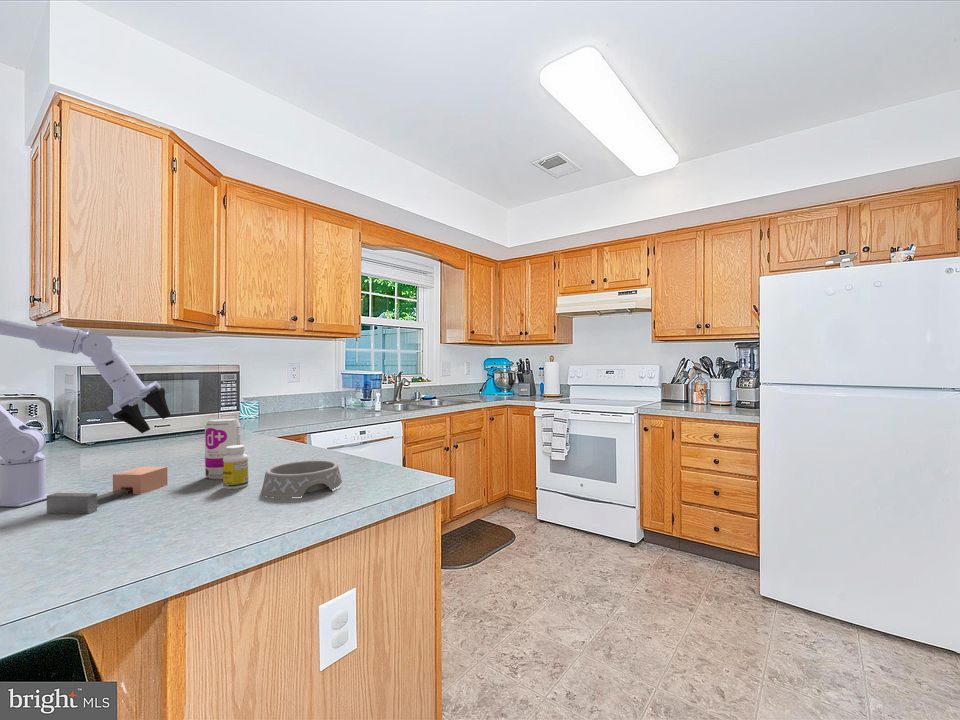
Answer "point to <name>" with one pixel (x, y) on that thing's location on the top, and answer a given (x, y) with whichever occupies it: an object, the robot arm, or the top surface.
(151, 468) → the block
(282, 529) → the top surface
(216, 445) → the supplement can
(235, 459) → the supplement bottle
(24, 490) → the robot arm
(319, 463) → the dog bowl
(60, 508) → the rail
